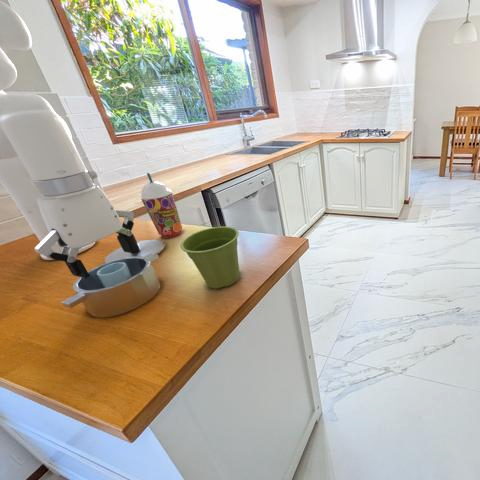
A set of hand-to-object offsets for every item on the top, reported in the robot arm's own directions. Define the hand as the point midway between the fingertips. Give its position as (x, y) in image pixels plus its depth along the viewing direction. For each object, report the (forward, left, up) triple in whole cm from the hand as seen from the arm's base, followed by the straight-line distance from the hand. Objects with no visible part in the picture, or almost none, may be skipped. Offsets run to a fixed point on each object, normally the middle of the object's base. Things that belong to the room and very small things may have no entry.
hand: (108, 263), depth 61 cm
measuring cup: (0, 0, -8) cm, 8 cm away
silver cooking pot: (0, 0, -9) cm, 9 cm away
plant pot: (+18, +11, -9) cm, 23 cm away
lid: (-17, +15, -8) cm, 24 cm away
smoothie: (-18, +28, -9) cm, 34 cm away
